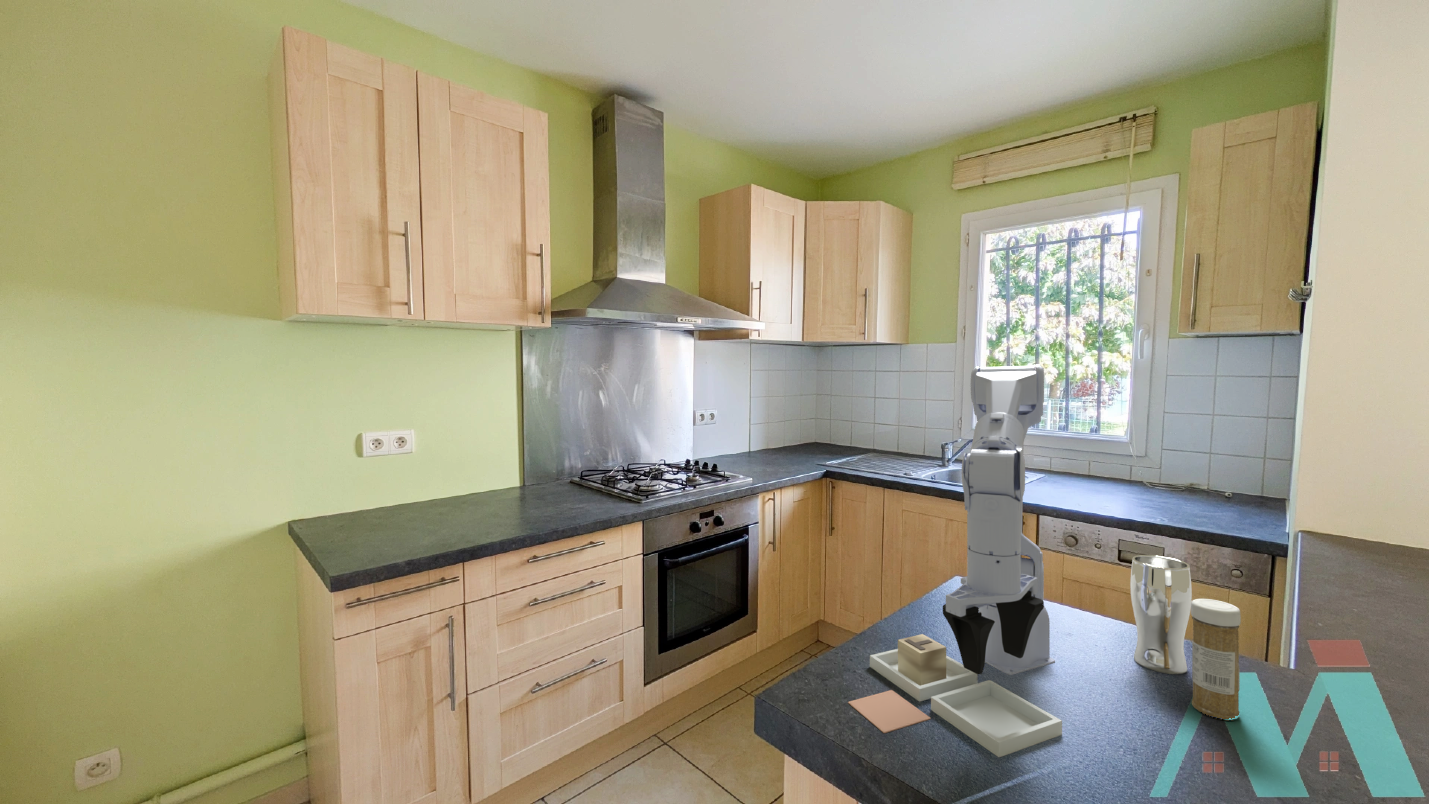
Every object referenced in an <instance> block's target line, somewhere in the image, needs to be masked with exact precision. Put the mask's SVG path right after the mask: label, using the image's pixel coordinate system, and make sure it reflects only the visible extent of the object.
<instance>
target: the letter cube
mask: <svg viewBox="0 0 1429 804" xmlns="http://www.w3.org/2000/svg"><path fill="white" fill-rule="evenodd" d="M897 649H898V671H899V672H900V673H902V674H903V675H905V676H906V677H908V678H909V679H911V680H912V681H914V682H915V683H917V684H918V685H920V686H921V685H924V684H928V683H932V682H935V681H939V680H943V679H946V655H947V647H946V646H945V645H943V644H941V643H939V642H938V641H936V640H934V639H933V638H930V637H929V636H927V635H925V634H923V633H921V634H917V635H914V636H913V635H912V636H908V637H904V638H900V639H897Z"/></svg>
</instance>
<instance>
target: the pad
mask: <svg viewBox="0 0 1429 804" xmlns="http://www.w3.org/2000/svg"><path fill="white" fill-rule="evenodd" d="M847 704H849V705H850V706H851V707H852V708H853V709H855V710H856V711H857V712H858V713H859V714H860V715H862V716H863V717H864V718H865V719H866V720H867V721H868V722H870V723H871V724H872V725H874V727H876V728H877V729H878V730H879V731H881V732H882V733H883V734H887V733H890V732H893V731H897V730H900V729H902V728H907V727H909V726H913V725H917V724H920V723H923V722H927V721H929V720H931V718H932V717H930V715H927V714H926V713H924V712H923V711H922V710H921V709H919V708H917V707H916V706H915V705H913V704H912V703H911V702H909V701H908V700H907V699H905V698H904V697H902V696H901V695H900V694H898V693H897V692H896V691H894V690H893V689H890V690H885V691H883V692H880V693H875V694H871V695H867V696H864V697H861V698H858V699H857V698H856V699H854V700H850V701H848V702H847Z"/></svg>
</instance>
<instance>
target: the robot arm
mask: <svg viewBox="0 0 1429 804" xmlns="http://www.w3.org/2000/svg"><path fill="white" fill-rule="evenodd" d="M970 399H971V402H972V404H973V405H972V407H973V412H974V415H975V416H976V421H977V422H976V424H975V427H974V430H973V431H974V433H973V438H972V443H971V448H970V452H968V453H967V452H964V453H963V456H962V461H961V462H962V463H961V484H962V489H963V490H962V491H963V496H964V501H963V502H964V510H965V511H967V513H966V516H967V517H966V519H967V523H966V524H967V525H966V527H967V528H966V530H967V531H966V534H967V535H966V536H967V537H966V540H967V541H966V547H967V548H966V549H967V551H966V552H967V555H966V557H967V560H966V562H967V564H966V565H967V567H966V569H967V570H966V571H967V575H966V576H963V577H961V578H960V584H961V585H960V586H959V587H957V589H956V590H954V591H953V592H950V593H948V594H946V595H945V604H943V605H942V615H943V616H944V618H945V619H946V621H947V623H948V625H949V626H950V628H951V630H952V633H953V635H954V637H955V640H956V643H957V647H958V650H959V654H960V657H961V661H962V664H963V666H964V668H966V669H968V670H970V671H972V672H974V673H976V674H977V675H981V674H983V673H984V669H985V663H986V664H987V665H988V666H991V667H993V668H994V669H997V670H999V671H1000V672H1002V673H1004V674H1005V675H1008V676H1013V675H1016V674H1021V673H1023V672H1027V671H1030V670H1034V669H1037V668H1041V667H1043V666H1044V667H1045V666H1048V665H1052V664H1054V663H1056V659H1054V658H1052V657H1050V655H1051V654H1050V653H1051V651H1050V648H1051V647H1050V644H1051V642H1050V637H1051V635H1050V632H1051V631H1050V615H1049V612H1048V609H1046V608H1047V607H1045V604H1044V603H1045V602H1044V596H1045V595H1044V594H1045V593H1044V592H1045V591H1044V590H1045V589H1044V588H1045V587H1044V586H1045V585H1044V584H1045V581H1044V580H1045V577H1044V575H1045V574H1044V573H1045V572H1044V571H1045V570H1044V569H1045V568H1044V567H1045V566H1044V564H1045V563H1044V562H1043V560H1044V559H1043V558H1044V555H1043V554H1044V553H1043V551H1041V547H1039V546H1038V545H1037V544H1035V542H1033V541H1032V540H1031V539H1029V538H1028V537H1027V536H1025V534H1024V533H1023V511H1024V510H1023V509H1024V508H1023V506H1024V505H1023V504H1024V503H1023V500H1024V499H1023V498H1024V494H1025V492H1026V491H1025V488H1026V463H1025V462H1026V460H1025V456H1024V445H1025V444H1024V442H1025V440H1026V436H1027V434H1028V430H1029V428H1030V427H1033V426H1035V425H1037V424H1040V423H1041V422H1042V417H1043V415H1044V402H1045V368H1044V367H1043V366H1041V364H1039V363H1038V364H1035V365H1012V366H1011V365H1010V366H1009V365H1008V366H1006V365H1005V366H1004V365H1003V366H979V365H976V366H975V367H974V368H973V369H972V370H971V373H970ZM1022 556H1025V557H1022Z"/></svg>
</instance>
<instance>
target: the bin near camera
mask: <svg viewBox="0 0 1429 804" xmlns="http://www.w3.org/2000/svg"><path fill="white" fill-rule="evenodd" d="M930 710H931V712H933V713H935V714H936V715H938V717H941V719H943V720H945V721H946V722H948V723H949V724H951V725H952V726H953V727H955V728H956V729H957V730H959V731H960V732H962V733H963V734H964V735H966V736H968V737H969V738H970V739H971V740H973V741H974V742H976V743H978V745H981V746H982V747H983V748H985V749H986V750H987V751H989V752H990V753H992V754H993V755H994V756H996V757H998V758H1002V757H1005V756H1008V755H1010V754H1013V753H1016V752H1019V751H1021V750H1024V749H1026V748H1030V747H1031V746H1032V747H1033V746H1035V745H1038V744H1041V743H1043V742H1046V741H1049V740H1052V739H1054V738H1057V737H1060V736H1062V735H1063V720H1061V719H1060V718H1059V717H1056V716H1055V715H1053V714H1051V713H1049V712H1047V711H1046V710H1044V709H1042V708H1040V707H1039V706H1037V705H1035V704H1033V703H1032V702H1030V701H1028V700H1026V699H1024V698H1022V697H1021V696H1019V695H1018V694H1016V693H1013V692H1012V691H1011V690H1009V689H1007V688H1005V687H1003V686H1001V685H1000V684H998V683H996V682H995V681H992V680H991V679H989V680H985V681H981V682H978V683H977V684H974V685H970V686H967V687H963V688H960V689H956V690H953V691H949V692H946V693H943V694H939V695H936V696H932V697H931V699H930Z"/></svg>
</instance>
